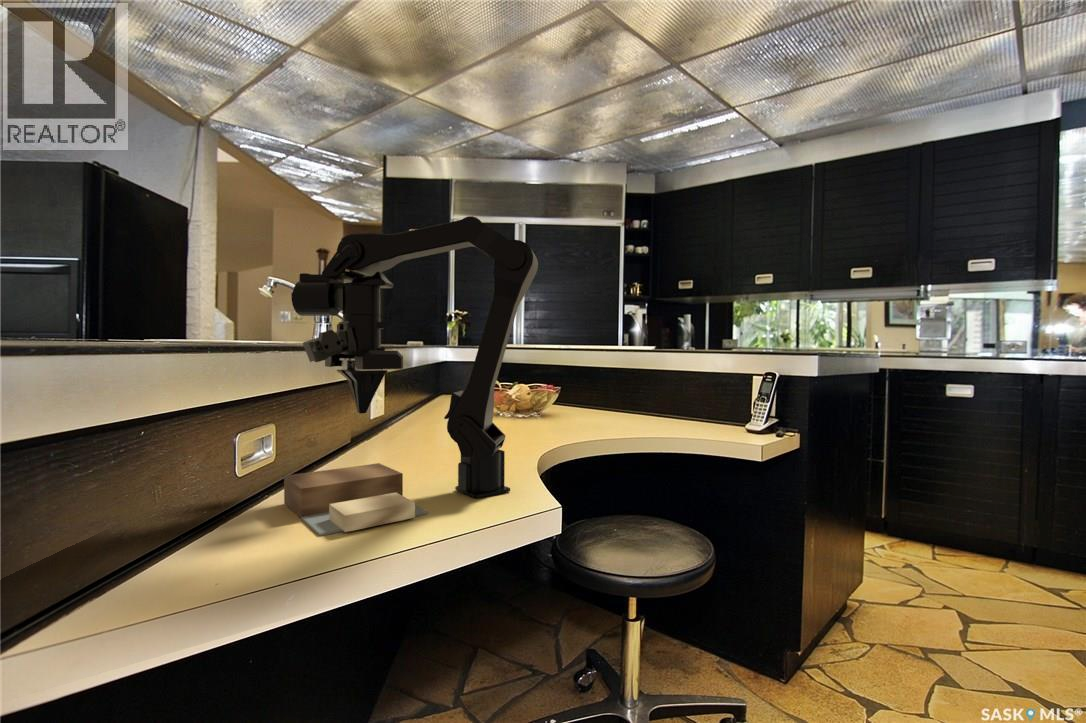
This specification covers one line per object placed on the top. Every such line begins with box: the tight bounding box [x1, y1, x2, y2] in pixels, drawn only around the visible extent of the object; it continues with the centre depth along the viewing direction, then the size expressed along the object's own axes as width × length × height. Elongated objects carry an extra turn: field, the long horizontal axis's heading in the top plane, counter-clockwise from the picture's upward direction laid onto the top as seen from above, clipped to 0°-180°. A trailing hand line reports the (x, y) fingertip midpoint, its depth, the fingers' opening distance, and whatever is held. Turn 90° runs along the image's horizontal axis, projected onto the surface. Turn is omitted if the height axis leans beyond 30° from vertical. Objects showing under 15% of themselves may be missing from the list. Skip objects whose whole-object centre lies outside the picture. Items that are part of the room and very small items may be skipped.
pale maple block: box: [329, 493, 416, 533], centre depth 68 cm, size 9×6×2 cm, turn 129°
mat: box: [300, 504, 428, 537], centre depth 70 cm, size 14×8×1 cm, turn 129°
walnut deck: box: [283, 462, 404, 519], centre depth 77 cm, size 14×9×4 cm, turn 129°
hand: (361, 413), depth 85 cm, fingers closed
